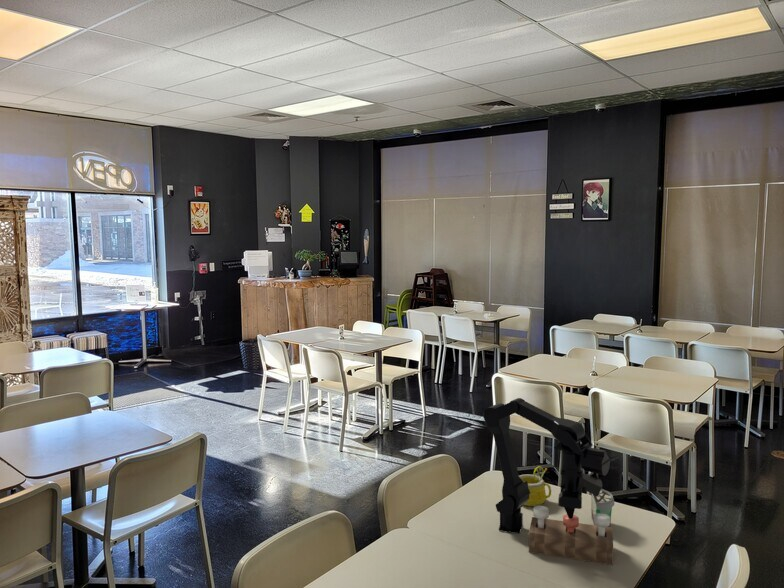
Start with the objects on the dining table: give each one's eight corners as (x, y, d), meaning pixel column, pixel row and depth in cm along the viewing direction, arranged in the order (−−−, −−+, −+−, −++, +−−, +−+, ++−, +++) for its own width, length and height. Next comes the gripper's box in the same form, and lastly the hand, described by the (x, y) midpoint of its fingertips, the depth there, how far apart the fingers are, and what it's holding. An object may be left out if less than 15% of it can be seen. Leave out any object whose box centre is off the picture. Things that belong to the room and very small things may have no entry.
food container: (617, 536, 179) (617, 504, 178) (596, 534, 180) (596, 503, 179) (610, 517, 191) (611, 487, 190) (590, 515, 192) (591, 486, 191)
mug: (517, 508, 198) (517, 474, 197) (511, 494, 209) (511, 462, 208) (555, 508, 198) (555, 474, 196) (547, 494, 208) (547, 462, 207)
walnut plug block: (528, 552, 171) (528, 532, 170) (532, 535, 180) (532, 516, 179) (612, 564, 163) (613, 544, 163) (611, 546, 173) (612, 527, 172)
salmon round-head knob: (562, 545, 170) (562, 520, 169) (563, 537, 174) (563, 513, 173) (578, 547, 169) (578, 522, 168) (578, 540, 173) (578, 515, 172)
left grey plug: (532, 536, 173) (532, 511, 172) (533, 529, 177) (534, 504, 176) (547, 538, 171) (548, 513, 170) (548, 531, 175) (549, 506, 175)
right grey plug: (593, 545, 167) (593, 519, 166) (593, 537, 171) (593, 512, 171) (609, 547, 166) (610, 521, 165) (609, 539, 170) (609, 514, 169)
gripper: (601, 482, 158) (600, 537, 159) (600, 457, 175) (599, 507, 177) (558, 477, 161) (558, 531, 163) (561, 453, 179) (561, 502, 180)
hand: (570, 517), depth 171 cm, fingers closed, pressing on salmon round-head knob
